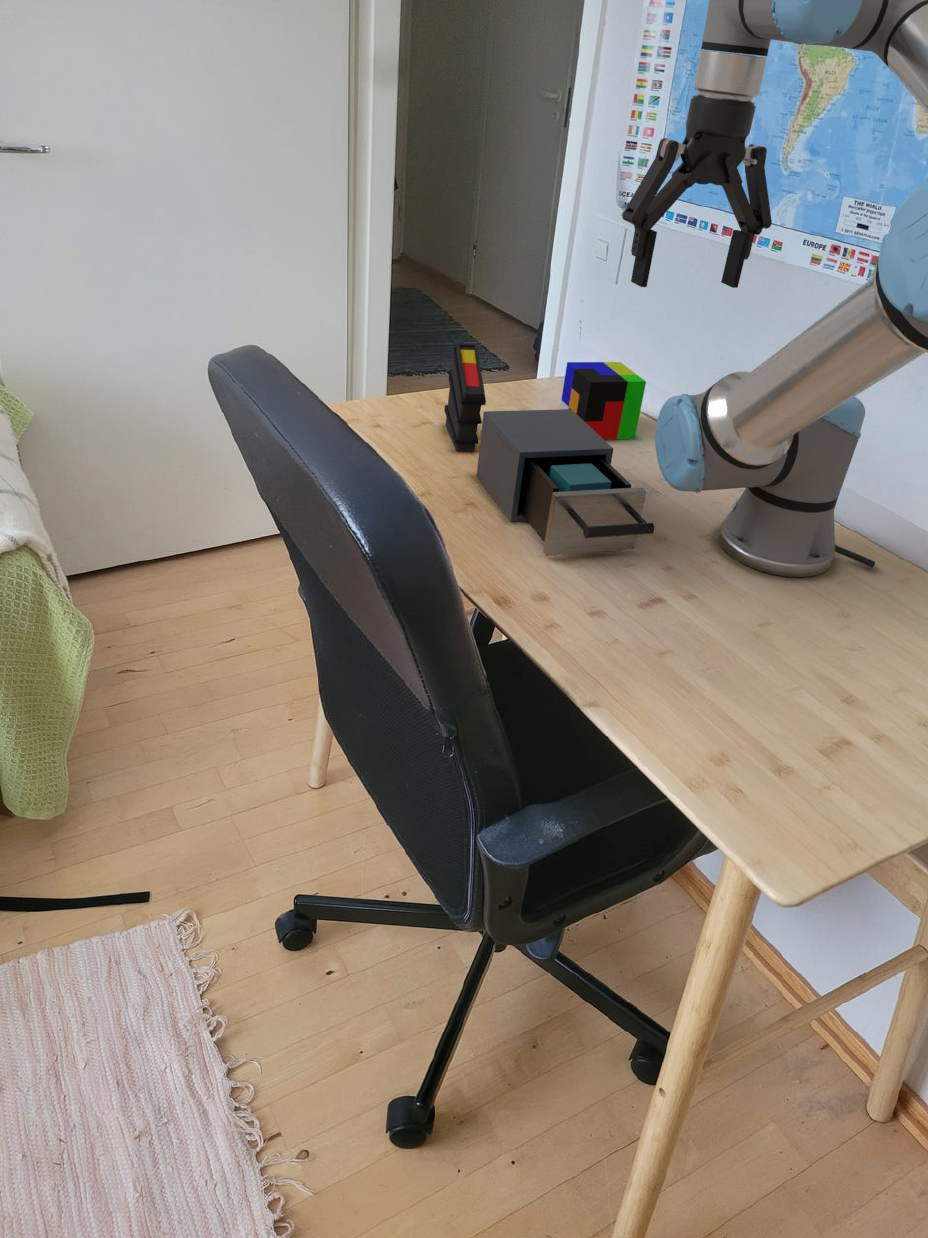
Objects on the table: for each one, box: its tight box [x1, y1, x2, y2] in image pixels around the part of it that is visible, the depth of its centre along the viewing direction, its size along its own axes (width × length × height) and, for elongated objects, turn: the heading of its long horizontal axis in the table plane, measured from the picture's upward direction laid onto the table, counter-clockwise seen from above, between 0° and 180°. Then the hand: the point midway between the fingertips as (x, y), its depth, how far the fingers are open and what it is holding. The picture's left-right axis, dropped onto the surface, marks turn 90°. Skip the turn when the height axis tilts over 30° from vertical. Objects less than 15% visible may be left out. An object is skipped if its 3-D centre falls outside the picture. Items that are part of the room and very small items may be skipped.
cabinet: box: [476, 409, 614, 523], centre depth 136 cm, size 15×14×10 cm
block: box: [549, 463, 611, 492], centre depth 126 cm, size 6×6×7 cm
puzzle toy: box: [559, 361, 647, 441], centre depth 162 cm, size 10×10×10 cm
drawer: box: [518, 455, 656, 557], centre depth 124 cm, size 20×13×8 cm, turn 18°
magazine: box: [443, 342, 487, 453], centre depth 151 cm, size 4×13×15 cm, turn 10°
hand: (684, 284), depth 122 cm, fingers open, 13 cm apart
